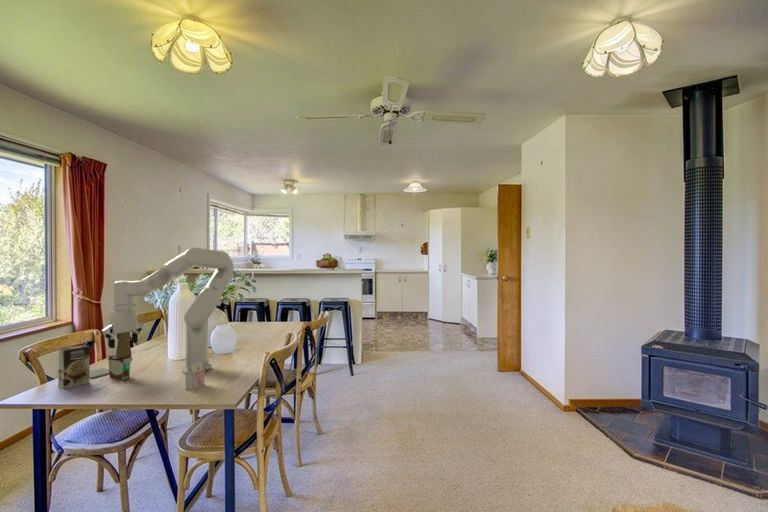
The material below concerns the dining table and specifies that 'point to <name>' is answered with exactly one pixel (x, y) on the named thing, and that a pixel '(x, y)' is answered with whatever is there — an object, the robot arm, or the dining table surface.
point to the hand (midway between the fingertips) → (123, 345)
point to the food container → (119, 367)
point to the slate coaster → (98, 373)
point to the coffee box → (74, 366)
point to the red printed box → (195, 376)
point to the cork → (123, 345)
